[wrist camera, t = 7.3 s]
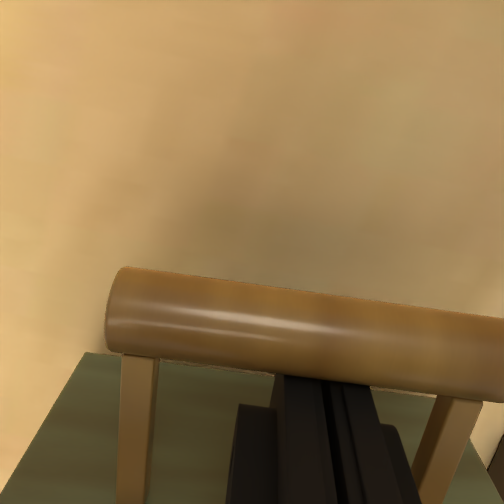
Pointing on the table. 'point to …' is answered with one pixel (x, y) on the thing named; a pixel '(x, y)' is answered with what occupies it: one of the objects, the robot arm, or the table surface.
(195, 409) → the drawer
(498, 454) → the black and red block
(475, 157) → the table surface
